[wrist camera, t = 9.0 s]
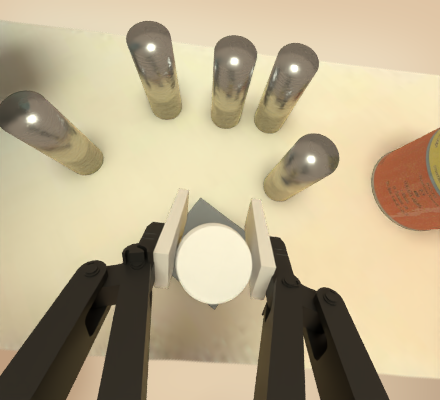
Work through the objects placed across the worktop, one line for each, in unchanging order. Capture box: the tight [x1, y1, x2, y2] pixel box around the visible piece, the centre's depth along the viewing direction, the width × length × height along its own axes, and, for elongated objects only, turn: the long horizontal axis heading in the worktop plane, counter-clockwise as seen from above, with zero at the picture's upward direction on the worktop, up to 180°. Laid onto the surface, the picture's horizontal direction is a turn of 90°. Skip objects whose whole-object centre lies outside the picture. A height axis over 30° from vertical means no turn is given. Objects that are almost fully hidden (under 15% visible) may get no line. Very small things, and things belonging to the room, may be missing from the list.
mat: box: [172, 198, 246, 310], centre depth 26 cm, size 9×9×1 cm
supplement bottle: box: [175, 223, 252, 304], centre depth 16 cm, size 5×5×8 cm
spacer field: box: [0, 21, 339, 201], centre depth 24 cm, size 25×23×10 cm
